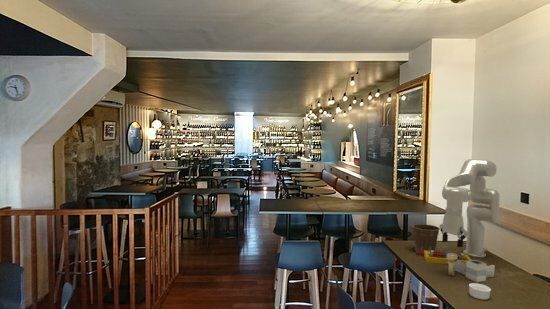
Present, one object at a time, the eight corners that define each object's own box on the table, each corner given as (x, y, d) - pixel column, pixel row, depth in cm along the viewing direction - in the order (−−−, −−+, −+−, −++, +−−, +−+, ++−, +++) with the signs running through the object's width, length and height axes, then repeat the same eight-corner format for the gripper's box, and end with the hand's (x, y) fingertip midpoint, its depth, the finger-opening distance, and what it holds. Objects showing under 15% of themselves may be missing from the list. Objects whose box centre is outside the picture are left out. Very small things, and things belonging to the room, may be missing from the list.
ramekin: (482, 292, 170) (483, 283, 170) (494, 300, 161) (495, 291, 161) (464, 291, 170) (464, 282, 170) (475, 300, 161) (476, 291, 161)
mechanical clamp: (416, 244, 224) (469, 250, 216) (416, 254, 225) (469, 260, 216) (419, 253, 207) (477, 259, 199) (419, 264, 207) (477, 271, 199)
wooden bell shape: (450, 272, 195) (451, 252, 194) (458, 275, 190) (459, 255, 189) (443, 273, 193) (444, 253, 192) (451, 276, 188) (452, 256, 187)
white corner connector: (471, 267, 203) (472, 251, 202) (499, 278, 187) (500, 261, 187) (449, 270, 197) (450, 254, 196) (476, 282, 181) (477, 264, 181)
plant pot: (405, 248, 235) (406, 224, 234) (426, 247, 240) (427, 223, 239) (423, 256, 219) (424, 230, 219) (444, 254, 224) (445, 229, 224)
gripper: (435, 209, 196) (434, 240, 197) (462, 215, 180) (460, 249, 181) (446, 208, 199) (444, 239, 199) (473, 215, 183) (471, 248, 183)
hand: (452, 244), depth 190 cm, fingers open, 9 cm apart
